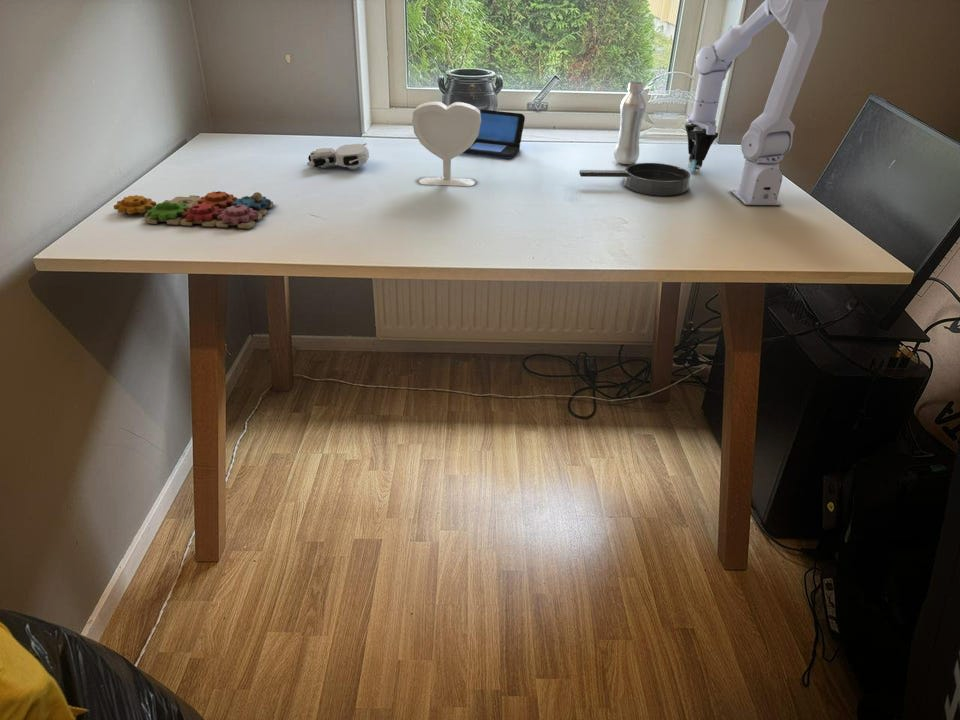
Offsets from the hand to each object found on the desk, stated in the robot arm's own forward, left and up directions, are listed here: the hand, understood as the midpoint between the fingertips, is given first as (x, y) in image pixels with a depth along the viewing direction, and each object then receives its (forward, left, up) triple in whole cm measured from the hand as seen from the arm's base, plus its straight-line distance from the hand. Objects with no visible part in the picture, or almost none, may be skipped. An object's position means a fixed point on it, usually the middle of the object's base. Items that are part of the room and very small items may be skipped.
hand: (696, 157), depth 174 cm
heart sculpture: (-10, +63, -4) cm, 64 cm away
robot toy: (+2, +90, -4) cm, 90 cm away
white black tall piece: (0, 0, -3) cm, 3 cm away
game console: (+18, +51, -4) cm, 54 cm away
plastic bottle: (+7, +16, -4) cm, 18 cm away
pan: (-12, +13, -4) cm, 18 cm away
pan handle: (-12, +26, -1) cm, 29 cm away
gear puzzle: (-32, +116, -4) cm, 120 cm away
